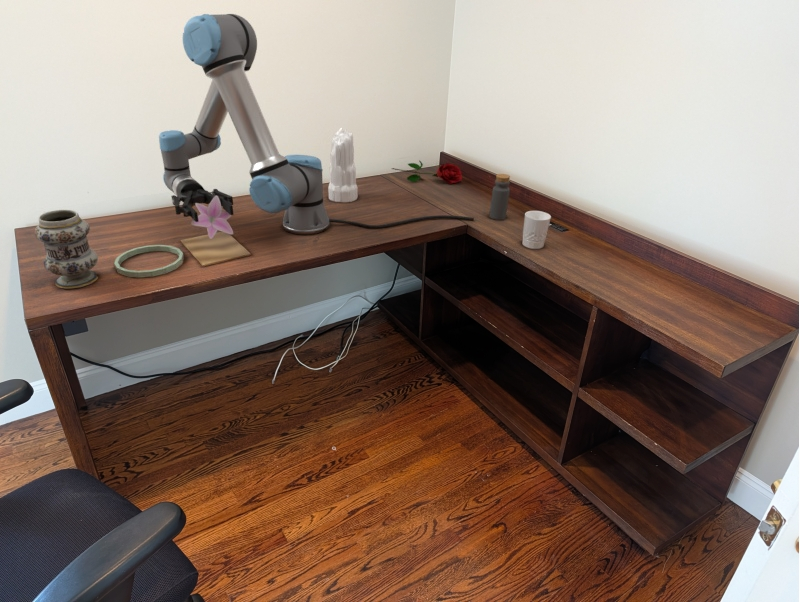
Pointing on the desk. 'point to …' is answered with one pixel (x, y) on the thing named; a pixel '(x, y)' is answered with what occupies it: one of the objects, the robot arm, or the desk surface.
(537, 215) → the white cup
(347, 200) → the white crystal cluster
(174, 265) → the pale green bangle
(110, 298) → the desk surface
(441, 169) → the flower
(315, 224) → the robot arm
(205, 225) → the lily
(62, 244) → the apothecary jar
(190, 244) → the tan wooden board
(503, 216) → the bottle
